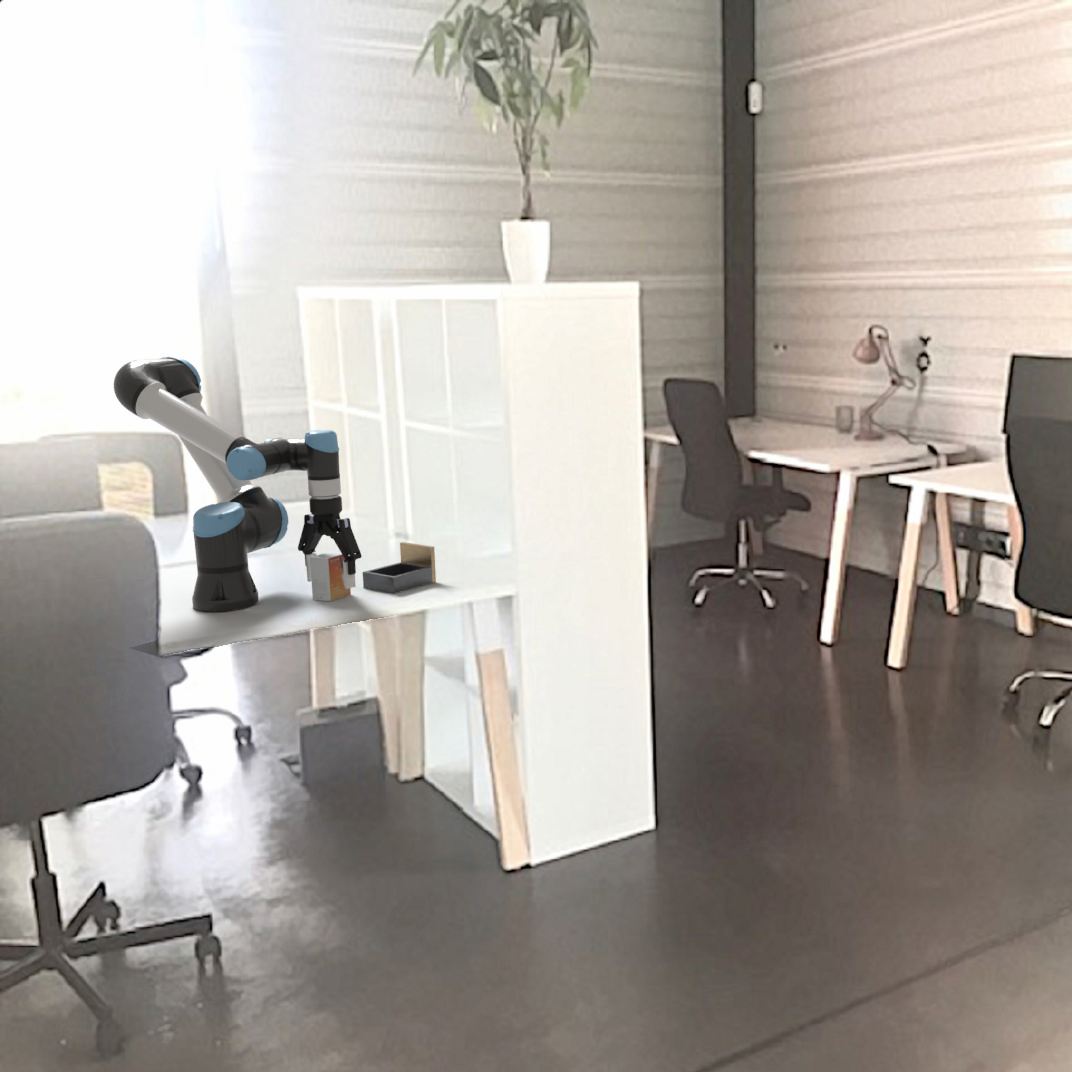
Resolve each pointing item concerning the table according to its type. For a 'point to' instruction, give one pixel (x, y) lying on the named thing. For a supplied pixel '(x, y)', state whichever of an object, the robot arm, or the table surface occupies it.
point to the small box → (328, 576)
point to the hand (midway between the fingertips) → (331, 584)
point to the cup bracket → (404, 570)
